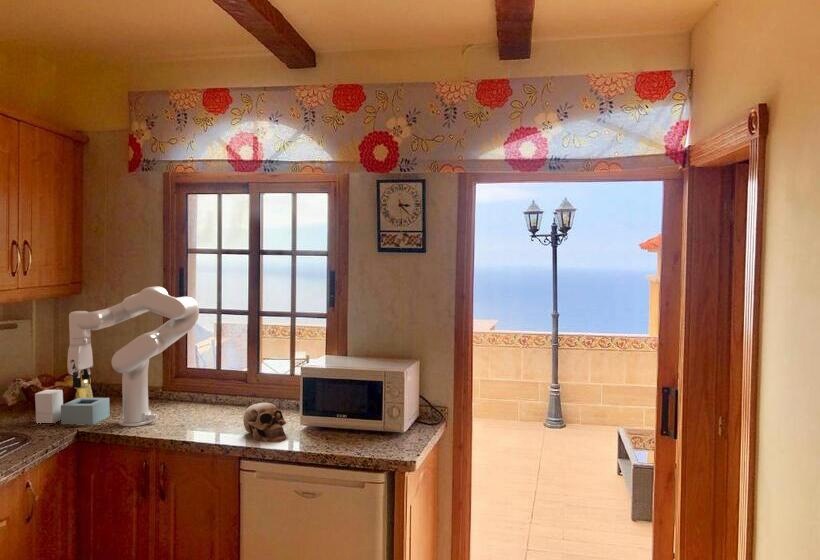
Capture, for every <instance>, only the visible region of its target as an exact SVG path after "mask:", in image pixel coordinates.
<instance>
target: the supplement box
mask: <svg viewBox="0 0 820 560" xmlns="http://www.w3.org/2000/svg"><path fill="white" fill-rule="evenodd" d="M34 402H35V423H37V425H42V424H41V423H54V424H56V423H55V422H57V421H59V422H61V421H60V420H61V405H63V404H64V392H63V389H45V390H41V391H38V392H36V393H35V394H34ZM38 423H40V424H38ZM57 423H58V422H57Z"/></svg>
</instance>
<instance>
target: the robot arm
mask: <svg viewBox="0 0 820 560" xmlns="http://www.w3.org/2000/svg"><path fill="white" fill-rule="evenodd" d="M148 312H151V313H155V314H157V315H160V316H163V317H165V318H168V319H169V320H167V321H165V323H163V324H161V325H160V326H159V327H157V328H156V329H153V330H152V331H149V332H146V333H143V334H141V335H139V336H137V337H136V338H134V339H133V340H131V341H130V342H129V343H127V344H125V345H124V346H123V347H121V348H120V349H119V350H116V352H115V353H114V354H113V356H112V358H111V366H112V368H113V370H114V371H116V372H117V373H121V374H122V379H121V380H122V385H121V387H122V392H121V393H122V419H119V421H118V424H119V426H122V427H139V426H144V425H148V424H150V423H152V422H153V420H157V419H158V418H159V415H158V413H157V412H156V413H155V412H152V410H151V409H149V364H150V359H151V358H152V357H155V356H156V355H159V354H162V352H164V351H165V350H167V349H168V347H170V346H171V345H173V344H174V343H176V342H177V341H178V340H180V339H181V338H182V337H184V336H185V335H186V334H188V333H189V332H190V331H191V330H192V329H193V328H194V327H195V325H196V324H197V322H198V320H199V315H200V309H199V304H198V302H197V300H196V299H194V298H193V297H191V296H185V295H184V296H179V297H175V296H171V295H169V293H168V291H167V289H166V288H164V287H163V286H158V285H157V286H156V285H155V286H149V287H145V288H143V289H142V290H140V291H139V292H137V293H135V294H132V295H129V296H127V297H125V298H124V299H123V301H122V302H119V303H117V304H115V305H113V306H109V307H107V308H105V309H98V310H95V311H86V310H75V311H71V312H70V313H69V314H68V325H69V326H68V329H69V346H68V351H67V362H66V363H67V364H66V365H67V373H68V374H69V375H70V376H71V379H72V387H73V388H74V389H76V388H80V387H81V379H88V385H90V384H91V373H92V372H91V371H92V368H94V360H93V359H94V358H93V348H92V340H91V338H92V337H91V331H98V330H102V329H105V328H109V327H112V326H114V325H117V324H119V323H122V322H125V321H127V320H129V319H133V318H136V317H138V316H140V315H142V314H146V313H148ZM81 371H82V374H81Z"/></svg>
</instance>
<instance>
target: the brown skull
mask: <svg viewBox="0 0 820 560" xmlns="http://www.w3.org/2000/svg"><path fill="white" fill-rule="evenodd" d="M244 411H245V412H244V414H243V418H242V419H243V427H244V430H245V431H246V432H248V433H249V434H250V436H252V437H253V440H257V441H259V442H266V443H267V442H268V443H279V442H283V441H285V440H286V439H287V436H286V433H285V431H284V427H283V426H284V425H285V426H286V424H287V421H286V420H285V419H284V415H283V413H282V411H281V410H280V409H279V408H278V407H277V406H276V405H275V404H273V403H271V402H259V403H254V404H252V405H250V406H249V407H248V408H246V410H244Z"/></svg>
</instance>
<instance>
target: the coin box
mask: <svg viewBox="0 0 820 560" xmlns="http://www.w3.org/2000/svg"><path fill="white" fill-rule="evenodd" d="M110 412H111V411H110V397H78V398H76V399H73V400H71V401H68V402H65V403H63V405H61V421H60V423H61V424H88V425H87V426H94V425H97V424H98V423H100V422H102V421H104V420H106V419H108V418H110V417H109V416H110V415H111V413H110ZM107 417H108V418H107ZM103 419H104V420H103ZM101 420H102V421H101ZM99 421H100V422H99ZM61 424H60V425H61ZM93 424H94V425H93Z"/></svg>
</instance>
